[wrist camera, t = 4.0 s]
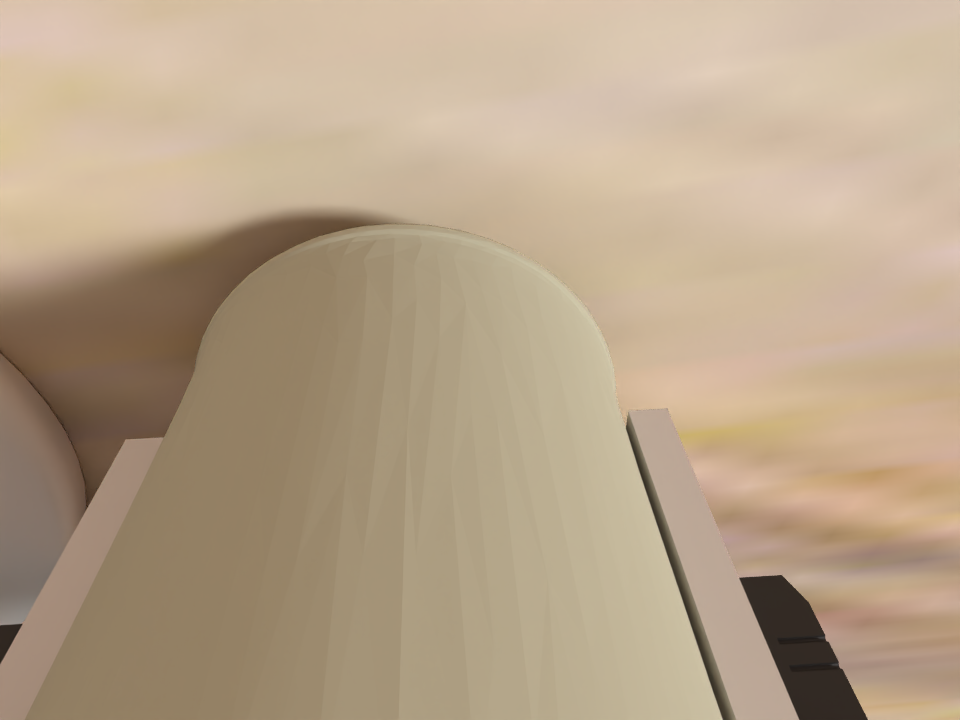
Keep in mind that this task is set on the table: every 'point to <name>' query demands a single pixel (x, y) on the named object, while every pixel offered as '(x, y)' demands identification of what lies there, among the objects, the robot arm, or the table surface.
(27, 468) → the white and grey plate
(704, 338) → the table surface
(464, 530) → the can
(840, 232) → the table surface
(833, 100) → the table surface
